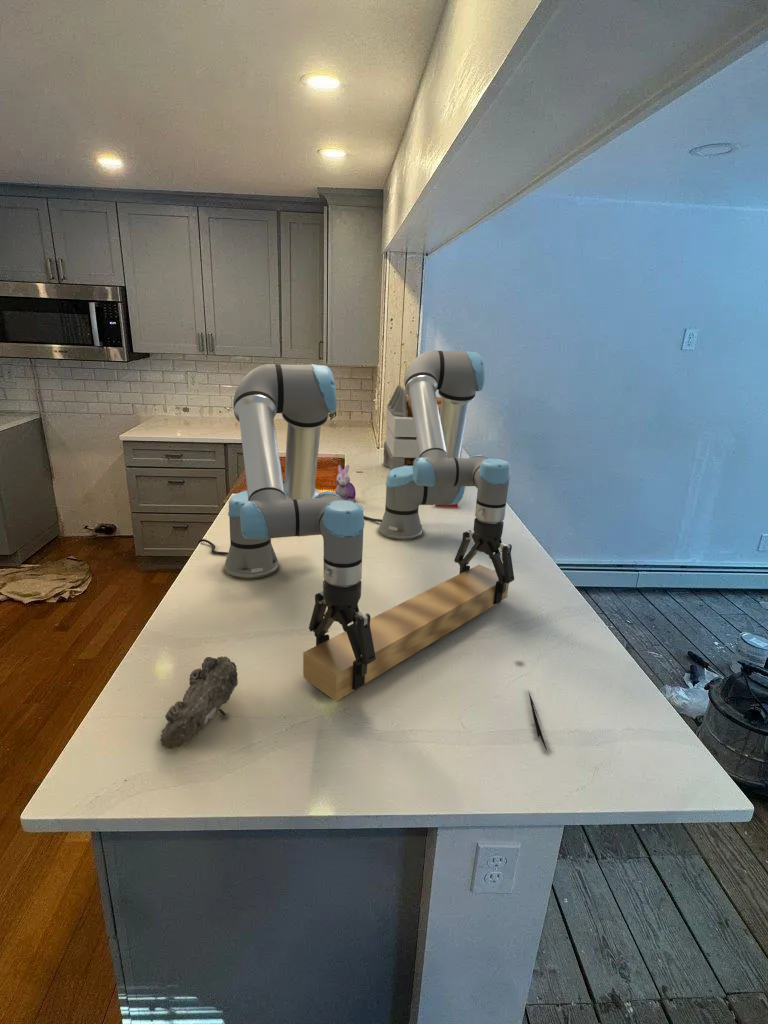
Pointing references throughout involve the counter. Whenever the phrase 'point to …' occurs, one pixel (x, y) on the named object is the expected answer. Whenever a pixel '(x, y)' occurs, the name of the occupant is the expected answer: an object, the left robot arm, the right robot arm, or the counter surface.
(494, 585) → the thick board
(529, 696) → the feather
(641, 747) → the counter surface
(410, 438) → the transformer
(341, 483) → the figurine
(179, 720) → the fossil
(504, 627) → the counter surface
